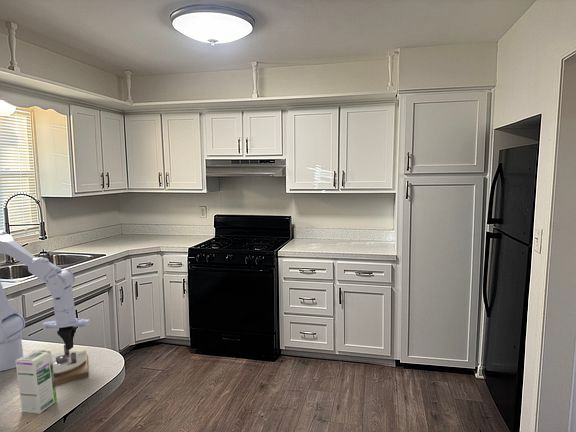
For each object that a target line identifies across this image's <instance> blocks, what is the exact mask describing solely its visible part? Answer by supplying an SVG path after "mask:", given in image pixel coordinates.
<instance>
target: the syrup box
mask: <svg viewBox="0 0 576 432" xmlns="http://www.w3.org/2000/svg"><path fill="white" fill-rule="evenodd" d="M26 354H27V355H25V356H23V357H21V358H20V359H17V360H16V368H15V369H16V376H17V382H18V390H19V399H20V400H19V401H20V406H21V407H20V408H21V412H23V413H26V414H27V413H28V414H35V415H36V414H37V415H40V414H42V413H43V412H44V411H45V410H47V409H48V408H49V407H51V406H52V405H53V404H55V403H56V402H57V401H58V400H57V392H56V385H55V381H54V372H53V363H52V355H53V354H52V351H51V350H45V349H40V350H39V349H37V350H35V349H34V350H32V351H30V352H29V353H26Z"/></svg>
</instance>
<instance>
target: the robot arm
mask: <svg viewBox="0 0 576 432" xmlns="http://www.w3.org/2000/svg"><path fill="white" fill-rule="evenodd" d="M0 254H6V255H7V256H9V257H11V258H13V259H14V260H15V261H18V262H20V263H21V264H23V265H25V266H26V267H27V269H28V272H29V273H30V274H31V275H33V276H35V277H36V278H38V280H41V281H42V282H44V283H45V286H46V288H47V290H48V291H49V292H50V296H51V297H52V303H53V304H52V306H53V311H54V317H55V318H54V319H55V320H51V321H45V322H43V323H42V325H41V326H42V330H45V331H46V330H48V329H58V331H56V334H57V335H58V336H59V337H60V338H61V339H62V341H63V343H64V345H65V346H66V350H69V351H71V350H72V349H73V348H74V337H75V334H76V331H77V329H78V328H82V327H83V328H89V326H91V325H92V324H91V319H88V318H77V315H76V308H75V302H74V301H75V299H74V298H75V297H74V291H73V285H74V284H75V282H76V281H75V280H76V279H75V275H74V273H73V272H72V271H71V270H70V269H62V268H61V267H58V266H57V265H55V264H54V263H52V262H50V259H48V258H47V257H42V256H41V257H40V256H39V257H36V256H35V255H34V254H32V253H31V252H29V251H28V250H27V249H26V248H25V247H23V246H22V245H21V244H19V243H18V242H17V241H15V240H14V238H13V235H11V234H8V233H7V232H6V231H5V230H2V229H0ZM25 327H26V321H25V318H24V317H23V316H22V315H21V314H20V312H19V310H18V309H17V308H15V307H13V306H11V305H10V303H9V299H7V296H6V293H5V290H4V288H3V285H2V282H1V281H0V372H2V371H6V370H11V369H12V370H13V369H16V360H17V359H20V358H21V357H23V356H25V355H27V354H28V353H24V351H23V349H24V348H23V342H22V341H23V339H22V334H23V330H24V328H25Z"/></svg>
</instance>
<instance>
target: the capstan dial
mask: <svg viewBox="0 0 576 432" xmlns="http://www.w3.org/2000/svg"><path fill="white" fill-rule="evenodd" d="M52 363H53V372H54V376H56V375H61V374H65V373H68V372H71V371H73V370H75V369H77V368H79V367H80V366H82V365H83V364H84V363H85V354H84V353H82V352H81V351H76V350H72V351H71V350H66V346H65V344H63V352H59V353H56V354H52Z"/></svg>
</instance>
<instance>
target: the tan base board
mask: <svg viewBox="0 0 576 432" xmlns="http://www.w3.org/2000/svg"><path fill="white" fill-rule="evenodd" d="M80 352H82V353H84V354H85V363H84V364H83V365H82V366H80V367H79V368H77V369H75V370H73V371H71V372H68V373H65V374H61V375H56V376H54V381H55V386H56V385H60V384H64V383H68V382H72V381H76V380H80V379H84V378H88V377H89V366H88V356H87V355H88V354H87V349H86V350H81V351H80Z"/></svg>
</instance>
